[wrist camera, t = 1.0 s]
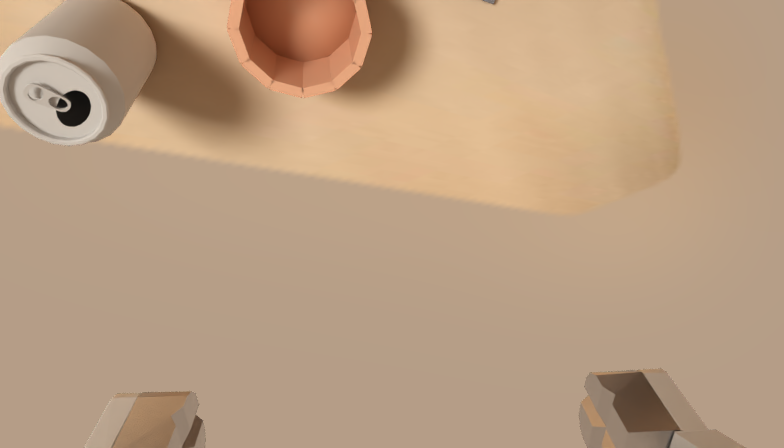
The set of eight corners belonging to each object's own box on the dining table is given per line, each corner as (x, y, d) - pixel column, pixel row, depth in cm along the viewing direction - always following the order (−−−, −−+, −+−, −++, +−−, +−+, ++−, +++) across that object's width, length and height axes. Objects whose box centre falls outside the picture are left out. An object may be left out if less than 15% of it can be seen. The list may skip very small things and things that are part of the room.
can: (134, 99, 46) (89, 175, 36) (41, 45, 42) (-34, 114, 33) (176, 31, 43) (139, 94, 33) (80, -33, 39) (8, 18, 30)
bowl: (250, -84, 38) (241, -68, 34) (379, -38, 41) (388, -17, 37) (228, 47, 44) (218, 76, 39) (344, 79, 47) (348, 110, 42)
